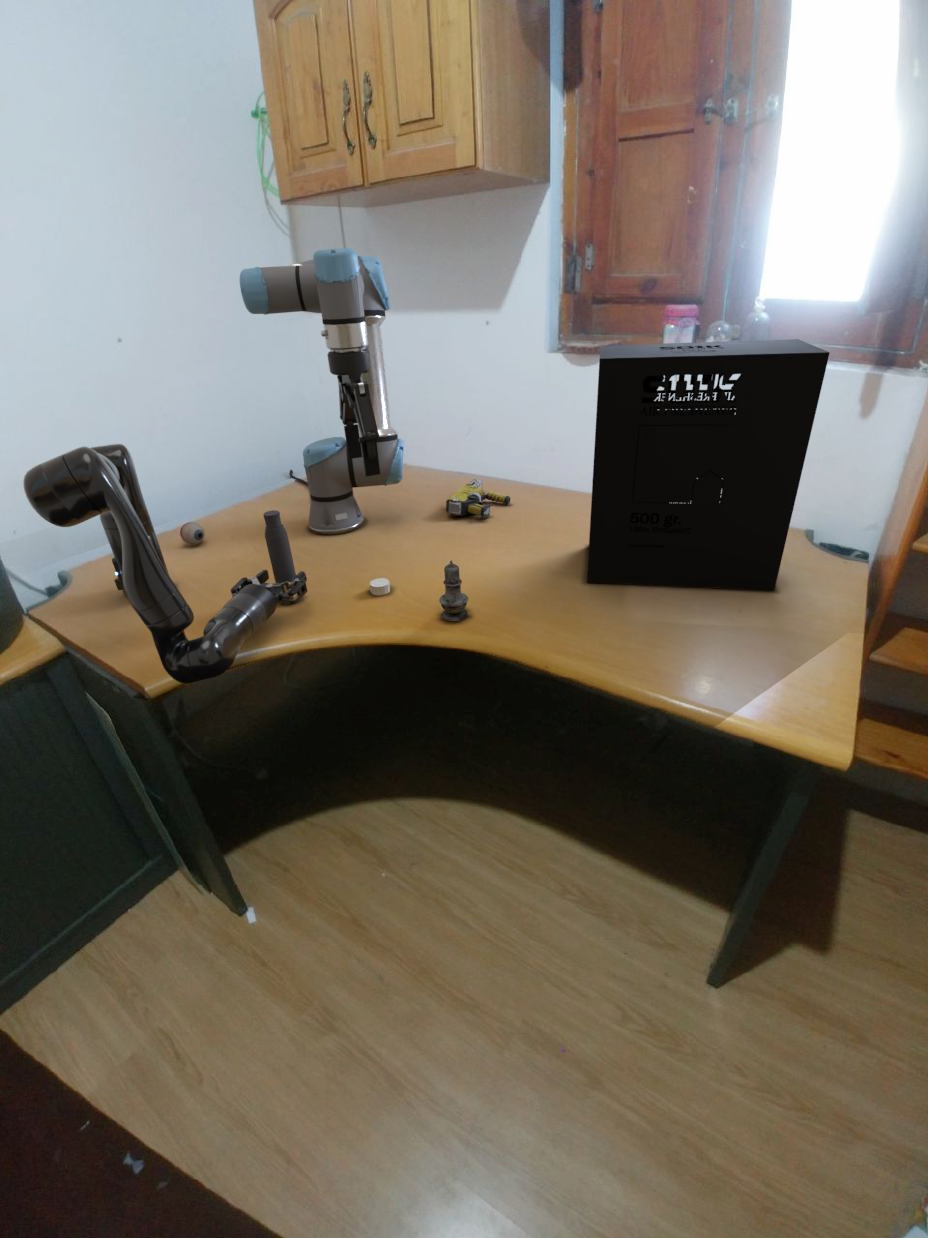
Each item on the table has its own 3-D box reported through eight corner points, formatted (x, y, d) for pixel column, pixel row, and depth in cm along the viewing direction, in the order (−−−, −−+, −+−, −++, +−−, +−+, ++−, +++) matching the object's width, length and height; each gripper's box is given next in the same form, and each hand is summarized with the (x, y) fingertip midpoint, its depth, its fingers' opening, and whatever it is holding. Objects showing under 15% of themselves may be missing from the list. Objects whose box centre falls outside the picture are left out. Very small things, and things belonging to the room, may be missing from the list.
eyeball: (193, 549, 159) (187, 528, 156) (179, 545, 162) (172, 524, 159) (212, 541, 163) (206, 520, 160) (198, 538, 166) (191, 517, 163)
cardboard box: (754, 550, 140) (797, 339, 118) (774, 590, 123) (829, 352, 101) (589, 545, 148) (601, 345, 125) (586, 582, 131) (599, 358, 108)
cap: (375, 585, 135) (374, 577, 134) (393, 587, 134) (392, 579, 133) (367, 594, 132) (366, 585, 131) (385, 596, 130) (384, 587, 129)
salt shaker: (466, 622, 119) (462, 567, 113) (437, 621, 120) (432, 566, 114) (471, 608, 123) (469, 554, 117) (443, 606, 125) (439, 553, 119)
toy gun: (518, 484, 183) (472, 477, 187) (496, 507, 163) (444, 499, 167) (517, 499, 185) (471, 492, 189) (494, 524, 165) (443, 515, 169)
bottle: (293, 606, 129) (273, 517, 119) (275, 603, 130) (255, 515, 120) (304, 596, 132) (287, 509, 122) (288, 594, 134) (269, 508, 124)
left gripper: (277, 595, 111) (313, 559, 125) (208, 592, 114) (250, 557, 128) (285, 630, 115) (319, 591, 129) (218, 626, 118) (258, 588, 131)
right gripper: (314, 344, 117) (331, 453, 128) (343, 358, 97) (361, 486, 108) (351, 341, 119) (366, 448, 130) (387, 354, 99) (401, 479, 110)
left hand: (285, 574), depth 128 cm, fingers open, 8 cm apart
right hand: (363, 466), depth 119 cm, fingers open, 13 cm apart
